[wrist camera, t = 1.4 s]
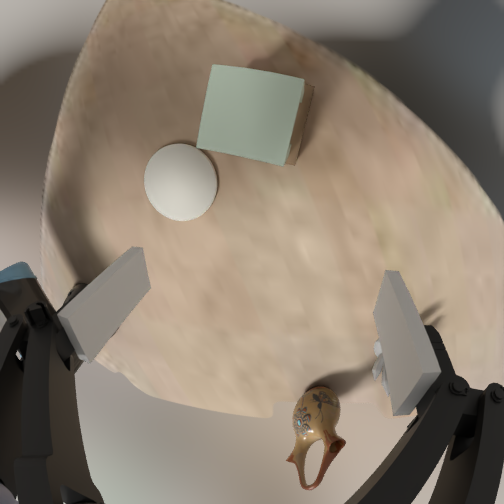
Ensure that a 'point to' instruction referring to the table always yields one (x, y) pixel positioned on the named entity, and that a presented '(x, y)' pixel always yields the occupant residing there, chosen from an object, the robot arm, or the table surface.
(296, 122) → the walnut box
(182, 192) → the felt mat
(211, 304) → the table surface
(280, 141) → the stool
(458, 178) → the table surface
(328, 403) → the ceramic vessel
